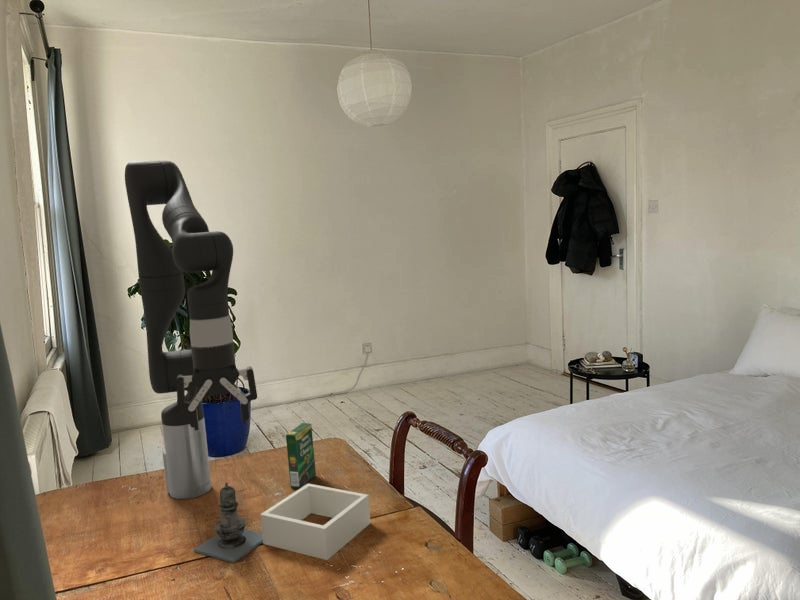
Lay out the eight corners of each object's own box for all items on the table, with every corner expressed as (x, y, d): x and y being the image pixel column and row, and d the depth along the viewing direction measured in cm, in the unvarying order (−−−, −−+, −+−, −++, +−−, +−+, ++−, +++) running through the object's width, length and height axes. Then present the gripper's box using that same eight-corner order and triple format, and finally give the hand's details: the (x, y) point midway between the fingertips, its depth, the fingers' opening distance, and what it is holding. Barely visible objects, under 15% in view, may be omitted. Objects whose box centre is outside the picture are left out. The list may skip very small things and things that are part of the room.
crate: (263, 543, 124) (260, 514, 123) (310, 510, 137) (307, 483, 136) (327, 560, 117) (324, 529, 116) (370, 523, 130) (368, 494, 129)
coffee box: (300, 489, 148) (295, 434, 146) (289, 488, 149) (284, 433, 147) (317, 475, 155) (312, 422, 153) (306, 474, 156) (302, 422, 154)
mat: (194, 551, 123) (193, 549, 122) (231, 527, 131) (231, 525, 131) (233, 562, 118) (233, 560, 118) (269, 537, 126) (269, 534, 126)
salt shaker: (239, 550, 121) (233, 489, 119) (210, 548, 122) (204, 488, 121) (252, 534, 127) (247, 476, 125) (224, 533, 128) (219, 475, 126)
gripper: (170, 349, 113) (179, 438, 116) (252, 340, 117) (260, 426, 120) (172, 341, 121) (181, 425, 123) (250, 333, 124) (257, 414, 127)
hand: (220, 425), depth 121 cm, fingers open, 8 cm apart
